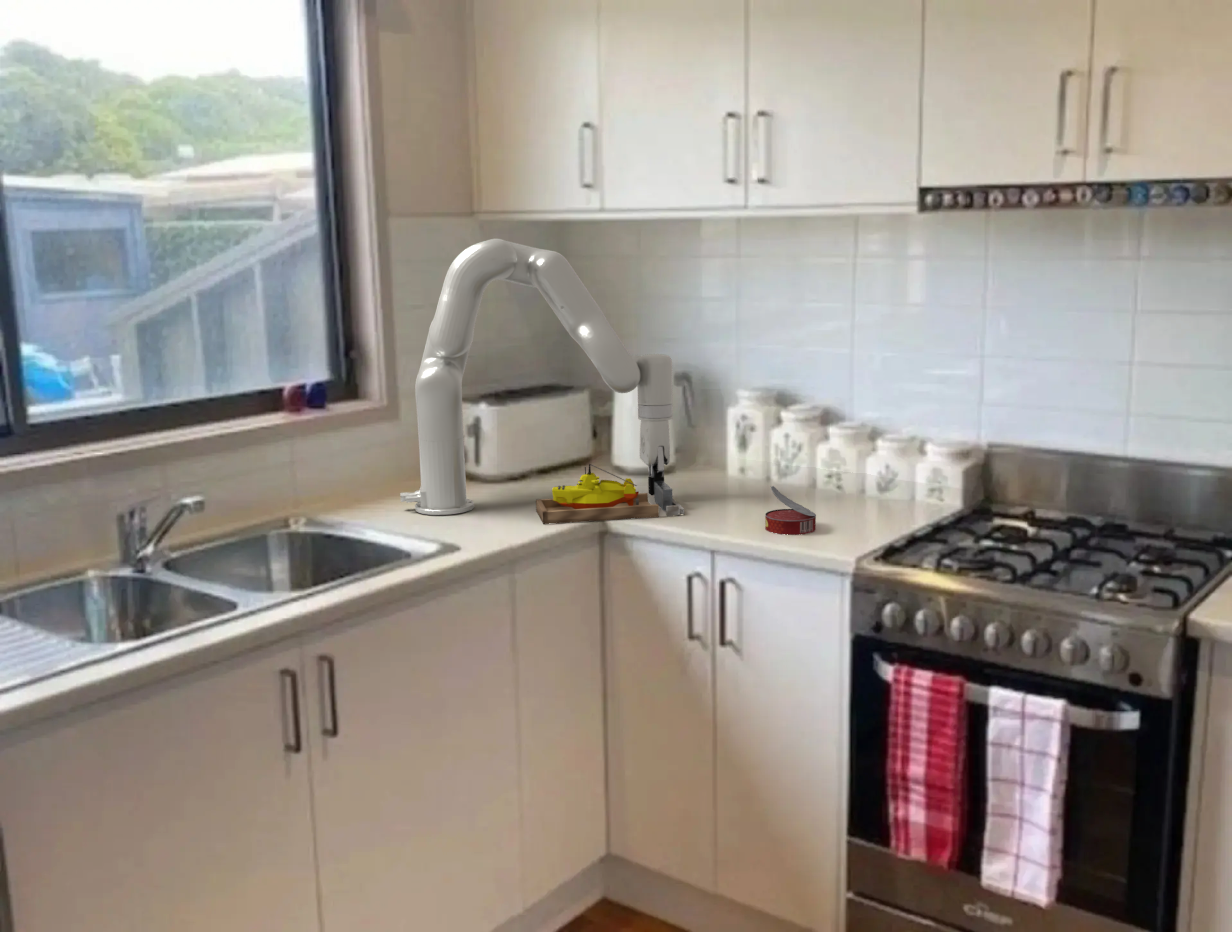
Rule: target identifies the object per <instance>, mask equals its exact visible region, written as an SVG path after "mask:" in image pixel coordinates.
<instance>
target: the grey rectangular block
mask: <svg viewBox="0 0 1232 932" xmlns="http://www.w3.org/2000/svg"><path fill="white" fill-rule="evenodd" d="M653 498H654V500H653V501H654V503H655V504H658V505H659V508H660V509H661V510H662V511H664V512H666V506H673V499H674V498H673V488H671V486H669V485H668V484H667V483H666V481H665V480H664V481H654V496H653Z"/></svg>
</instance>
